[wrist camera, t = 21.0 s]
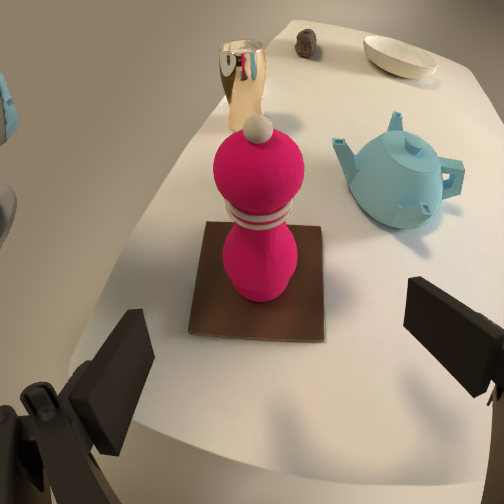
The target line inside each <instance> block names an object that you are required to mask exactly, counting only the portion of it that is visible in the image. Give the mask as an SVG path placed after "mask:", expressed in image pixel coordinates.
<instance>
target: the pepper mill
mask: <svg viewBox="0 0 504 504" xmlns="http://www.w3.org/2000/svg"><path fill="white" fill-rule="evenodd" d="M213 173H214V180H215V183H216V186H217V188H218V190H219V191H220V193H221V194H222V196H223V197H224V198H225V202H226V209H227V212H228V214H229V216H230V217H231V219H232V220H233V221H234V227H233V228H232V229H231V231H230V232H229V234H228V235H227V238H226V240H225V243H224V247H223V264H224V268H225V270H226V273H227V275H228V276H229V277H230V279H231V280H232V283H233V286H234V288H235V289H236V291H237V292H238V293H239V294H240V295H241V296H243V297H244V298H246V299H248V300H251V301H256V302H265V301H270V300H272V299H274V298H276V297H278V296H279V295H280V294H281V293H282V292H283V291H284V290H285V288H286V286H287V284H288V281H289V279H290V277H291V276H292V275H293V273H294V271H295V268H296V265H297V246H296V242H295V239H294V237H293V235H292V233H291V231H290V230H289V228H288V227H287V225H286V222H285V220H286V219H287V218H288V217H289V215H290V213H291V211H292V208H293V200H294V196H295V195H296V193H297V192H298V191H299V189H300V188H301V185H302V182H303V178H304V162H303V158H302V153H301V152H300V150H299V148H298V146H297V145H296V143H295V142H294V141H293V140H292V139H291V138H290V137H289V136H288V135H286V134H284V133H282V132H280V131H278V130H276V129H273V125H272V123H271V121H270V120H269V119H268V118H267V117H265V116H263V115H253V116H251V117H249V118H248V119H247V120H246V121H245V123H244V125H243V129H241V130H239V131H237V132H235V133H233V134H232V135H230V136H229V137H228V138H227V139H225V140H224V142H223V143H222V144H221V146H220V147H219V149H218V151H217V153H216V155H215V158H214V165H213Z"/></svg>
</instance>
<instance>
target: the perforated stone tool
mask: <svg viewBox="0 0 504 504" xmlns="http://www.w3.org/2000/svg"><path fill="white" fill-rule="evenodd" d="M315 47H316V35H315V33H314V31H313V30H311V29H305V30H303V31H301V32H300V33H299V34H298V35H297V44H296V45H295V49H296V52H297V54H298V55H300V56H304V57H310V56H311V55H312V54H313V52H314V50H315Z"/></svg>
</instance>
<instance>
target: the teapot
mask: <svg viewBox="0 0 504 504" xmlns="http://www.w3.org/2000/svg"><path fill="white" fill-rule="evenodd" d="M332 141H333V147H334V149H335V152H336V154H337V157H338V159H339V162H340V164H341V167H342V169H343V172H344V174H345V177H346V180H347V182H348V184H349V185H350V189H351V192H352V194H353V196H354V198H355V199H356V201H357V202H358V204H359V205H360V206H361V207H362V208H363V210H364V211H365V212H366V213H368V214H369V215H370V216H371V217H373V218H374V219H375V220H377V221H379V222H381V223H383V224H385V225H388V226H391V227H395V228H402V229H413V228H418V227H422V226H424V225H426V224H427V223H429V222H430V221H431V220H432V219H433V218H434V216H435V215H436V213H437V211H438V209H439V206H440V203H441V200H442V199H446V198H449V197H453V196H456V195H460V193H461V189H462V184H463V179H464V173H465V169H464V166H463V163H462V161H459V160H453V159H447V158H441V157H438V156H437V154H436V152H435V151H434V149H433V148H432V147H431V146H430V145H429V144H428V143H427V142H426V141H424V140H423V139H421V138H420V137H419V136H417V135H414V134H411V133H408V132H404V131H403V127H402V116H401V113H398V112H395V111H393V114H392V118H391V121H390V124H389V127H388V130H387V132H386V133H384V134H382V135H380V136H378V137H377V138H375V139H373V140H372V141H370V142H369V143H368V144H366V145H365V146H364V147H363V148H362V149H361V150H360V152H359V153H358V154H357V155H354V154H353V152H352V151H351V149H350V148H349V146H348V145H347V143H346V142H345V139H334V138H332ZM442 173H446V174H450V177H449V179H448V180H444V181H443V178H442Z"/></svg>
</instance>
